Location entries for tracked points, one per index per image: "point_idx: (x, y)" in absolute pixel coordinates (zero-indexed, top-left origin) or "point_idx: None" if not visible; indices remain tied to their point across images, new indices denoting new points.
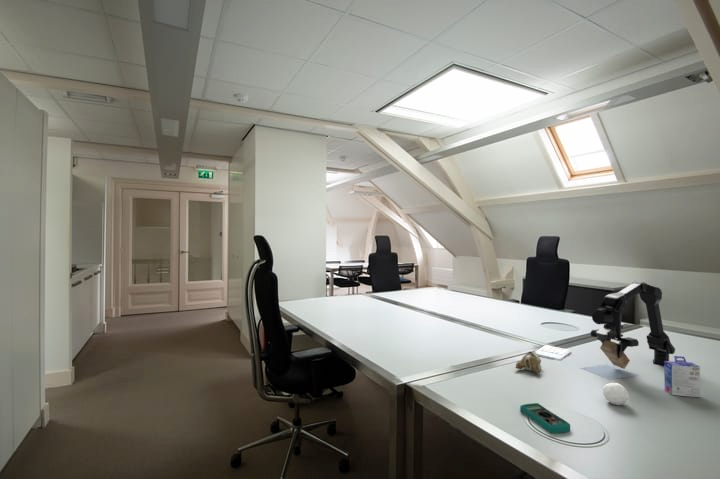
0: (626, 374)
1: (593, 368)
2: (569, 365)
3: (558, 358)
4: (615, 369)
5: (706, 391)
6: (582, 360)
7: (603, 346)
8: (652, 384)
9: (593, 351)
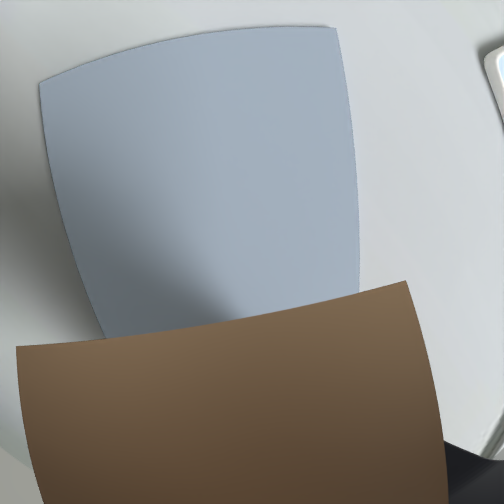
0: (133, 330)
1: (308, 146)
2: (409, 26)
3: (497, 56)
4: None
5: (8, 447)
6: (463, 235)
7: (352, 410)
8: (3, 342)
9: (478, 387)
